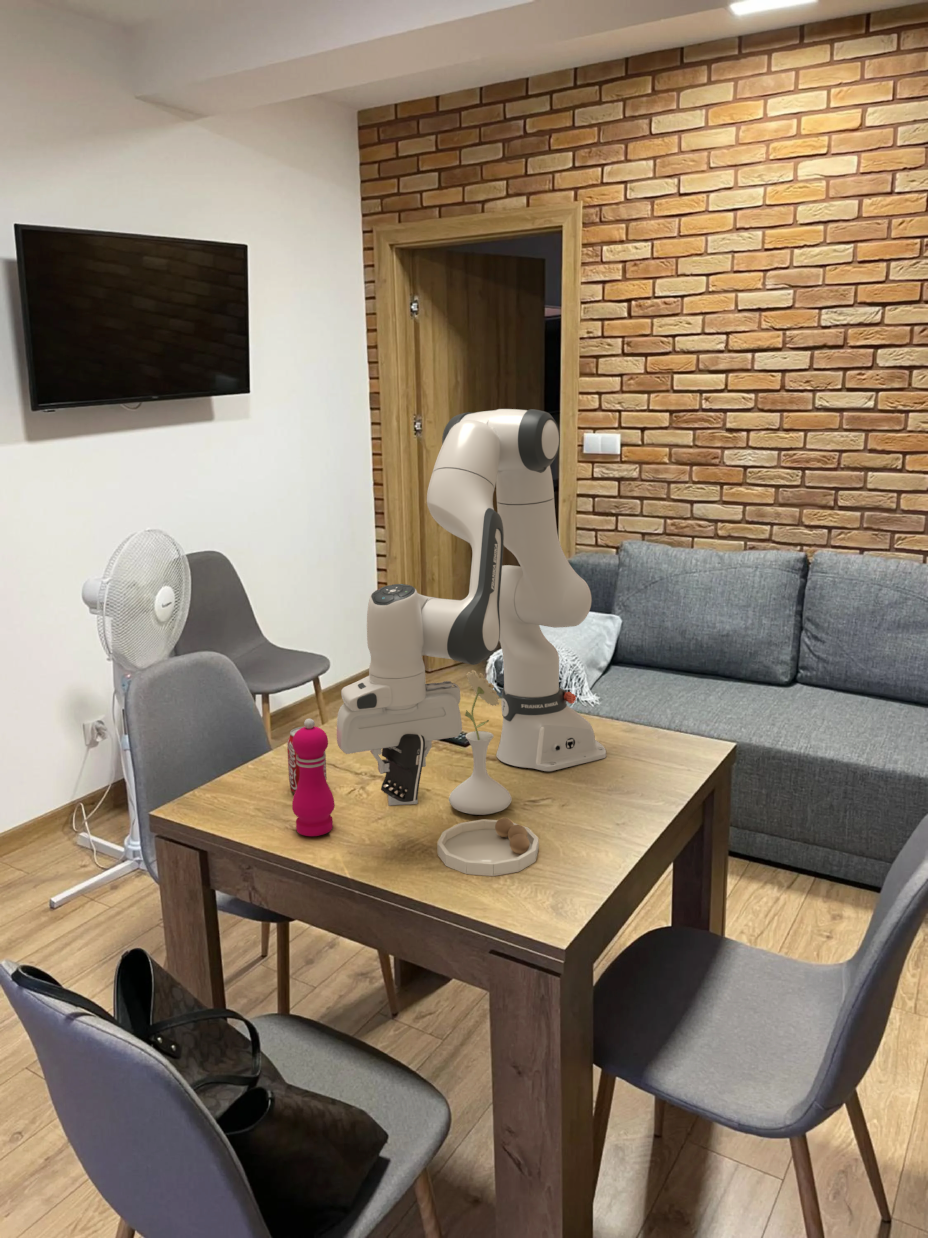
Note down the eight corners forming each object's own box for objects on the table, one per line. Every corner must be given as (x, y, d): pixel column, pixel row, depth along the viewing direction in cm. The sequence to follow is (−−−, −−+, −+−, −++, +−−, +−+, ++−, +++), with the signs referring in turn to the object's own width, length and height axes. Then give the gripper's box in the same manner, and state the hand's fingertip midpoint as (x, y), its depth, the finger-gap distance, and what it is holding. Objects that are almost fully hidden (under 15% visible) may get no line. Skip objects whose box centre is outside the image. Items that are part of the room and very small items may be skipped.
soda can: (319, 799, 179) (316, 738, 177) (283, 797, 181) (280, 736, 178) (332, 785, 186) (329, 726, 184) (297, 782, 188) (294, 724, 185)
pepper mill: (316, 841, 162) (311, 728, 158) (284, 832, 166) (278, 721, 162) (344, 825, 168) (339, 716, 164) (312, 816, 172) (306, 709, 168)
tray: (515, 825, 167) (515, 814, 167) (553, 865, 153) (553, 853, 152) (427, 839, 162) (426, 828, 162) (457, 882, 148) (457, 870, 147)
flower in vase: (518, 817, 171) (518, 681, 165) (455, 824, 168) (453, 686, 163) (500, 789, 183) (500, 662, 178) (441, 795, 181) (439, 666, 175)
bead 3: (525, 847, 158) (525, 829, 157) (532, 855, 155) (532, 837, 154) (506, 850, 157) (506, 832, 156) (514, 859, 154) (514, 840, 153)
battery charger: (373, 790, 158) (381, 724, 156) (391, 787, 161) (399, 721, 159) (400, 806, 153) (410, 738, 151) (418, 802, 156) (427, 735, 154)
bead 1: (510, 831, 164) (509, 813, 163) (517, 838, 161) (517, 821, 160) (492, 834, 163) (492, 816, 162) (499, 841, 160) (499, 823, 159)
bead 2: (522, 838, 161) (522, 820, 160) (530, 846, 158) (530, 828, 157) (505, 841, 160) (505, 823, 159) (512, 849, 157) (512, 831, 156)
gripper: (453, 674, 159) (456, 752, 163) (331, 690, 153) (336, 772, 156) (466, 684, 153) (468, 766, 157) (339, 702, 147) (345, 786, 150)
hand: (402, 769), depth 156 cm, fingers closed on battery charger, 5 cm apart
